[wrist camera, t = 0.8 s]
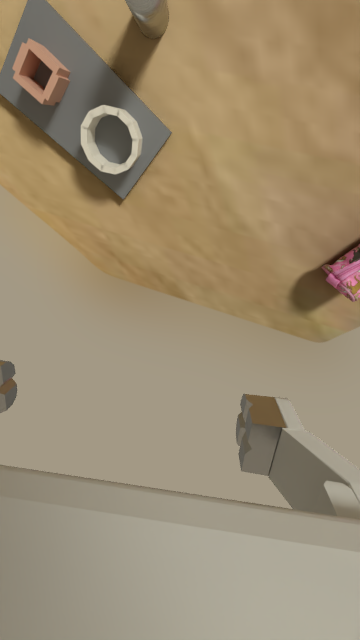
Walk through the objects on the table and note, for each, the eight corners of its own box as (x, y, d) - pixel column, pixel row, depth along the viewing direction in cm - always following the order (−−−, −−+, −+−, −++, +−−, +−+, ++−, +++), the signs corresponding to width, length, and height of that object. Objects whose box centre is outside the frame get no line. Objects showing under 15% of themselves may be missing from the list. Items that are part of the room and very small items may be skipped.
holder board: (0, 89, 39) (-24, 85, 34) (38, -8, 33) (15, -28, 29) (125, 197, 47) (118, 205, 42) (171, 132, 41) (169, 134, 37)
